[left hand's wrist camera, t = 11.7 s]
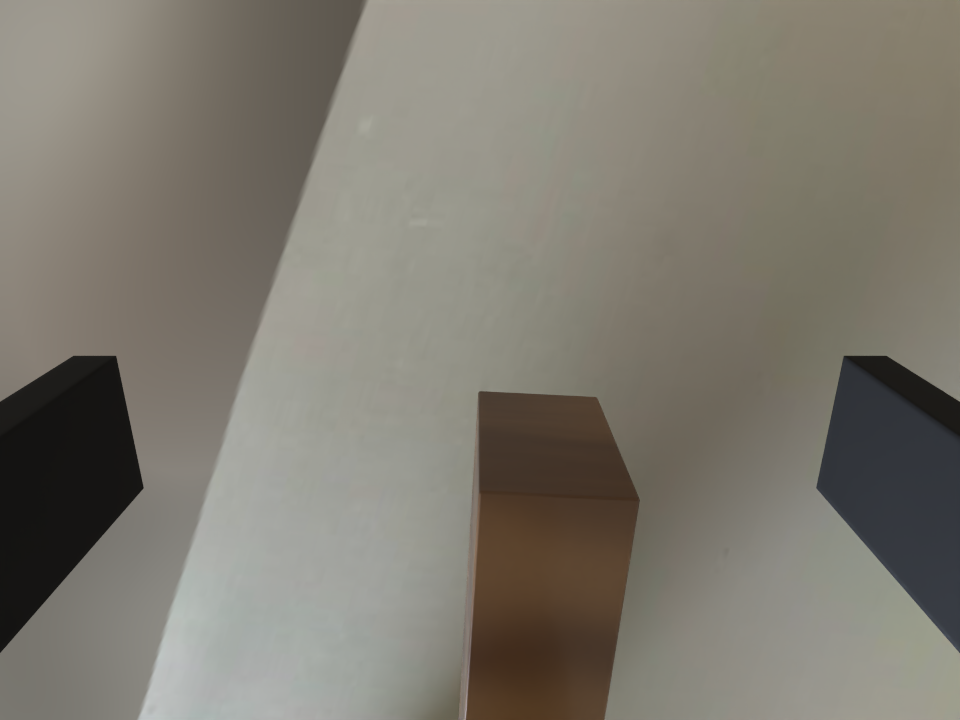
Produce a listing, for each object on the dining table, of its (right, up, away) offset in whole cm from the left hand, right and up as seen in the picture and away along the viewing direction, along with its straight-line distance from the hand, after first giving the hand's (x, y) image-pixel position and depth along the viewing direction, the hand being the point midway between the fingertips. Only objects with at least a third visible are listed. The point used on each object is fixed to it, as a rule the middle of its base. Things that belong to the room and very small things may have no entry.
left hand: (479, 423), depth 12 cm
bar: (+2, -11, +21) cm, 24 cm away
